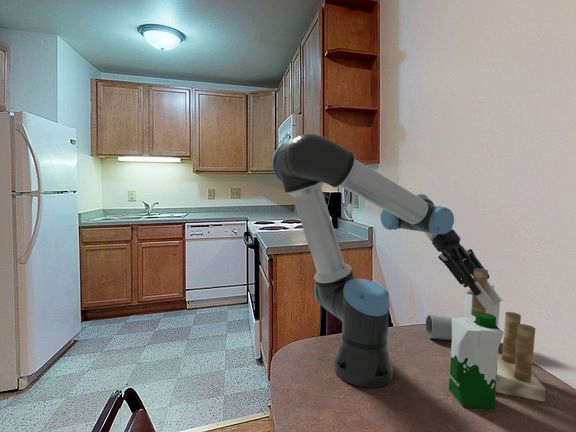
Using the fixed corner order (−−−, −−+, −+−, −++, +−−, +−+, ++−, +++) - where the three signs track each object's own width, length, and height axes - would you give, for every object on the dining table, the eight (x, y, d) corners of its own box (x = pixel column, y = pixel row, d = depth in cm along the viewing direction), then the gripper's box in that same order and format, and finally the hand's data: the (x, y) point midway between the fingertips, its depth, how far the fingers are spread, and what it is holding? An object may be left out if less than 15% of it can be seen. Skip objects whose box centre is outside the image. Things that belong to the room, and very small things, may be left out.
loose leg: (472, 316, 88) (475, 270, 87) (469, 312, 91) (472, 267, 90) (486, 318, 87) (489, 271, 86) (483, 313, 90) (486, 268, 89)
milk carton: (496, 346, 101) (501, 288, 100) (474, 346, 101) (478, 287, 100) (483, 337, 108) (487, 282, 107) (462, 336, 108) (466, 281, 107)
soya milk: (502, 412, 70) (509, 323, 68) (460, 410, 70) (466, 321, 69) (479, 388, 78) (485, 309, 77) (442, 386, 79) (447, 307, 77)
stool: (467, 386, 79) (472, 324, 78) (455, 356, 94) (459, 303, 93) (544, 401, 74) (550, 335, 73) (518, 367, 89) (523, 311, 88)
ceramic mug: (457, 344, 102) (459, 321, 102) (431, 342, 103) (432, 319, 103) (445, 331, 113) (446, 310, 112) (421, 329, 114) (422, 308, 113)
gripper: (451, 241, 105) (500, 306, 92) (416, 244, 98) (464, 315, 84) (467, 227, 100) (521, 293, 87) (431, 229, 93) (485, 301, 79)
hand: (493, 303), depth 85 cm, fingers closed on loose leg, 3 cm apart
